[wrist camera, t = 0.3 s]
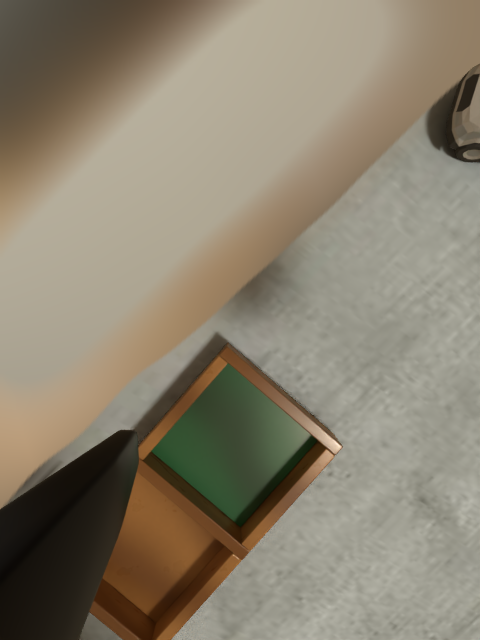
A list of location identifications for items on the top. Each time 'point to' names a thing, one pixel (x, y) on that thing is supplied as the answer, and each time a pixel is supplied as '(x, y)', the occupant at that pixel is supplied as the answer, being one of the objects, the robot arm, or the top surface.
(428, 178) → the top surface
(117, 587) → the wooden divided tray
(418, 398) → the top surface
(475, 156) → the toy car
